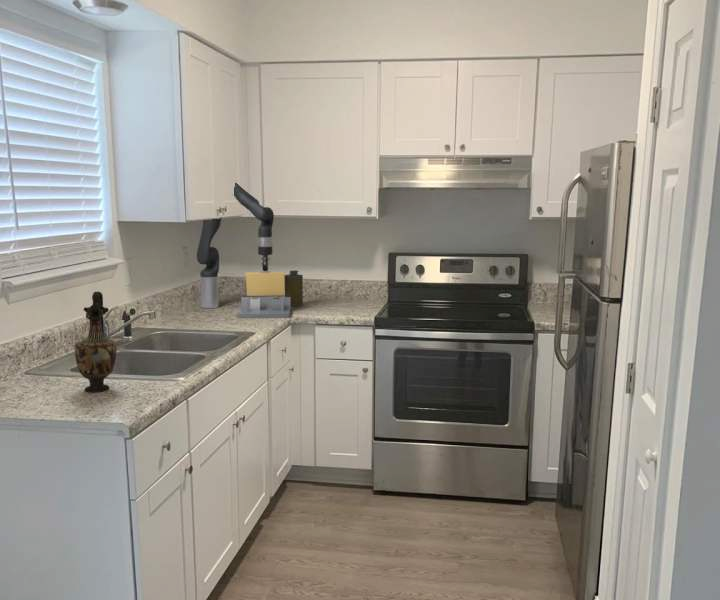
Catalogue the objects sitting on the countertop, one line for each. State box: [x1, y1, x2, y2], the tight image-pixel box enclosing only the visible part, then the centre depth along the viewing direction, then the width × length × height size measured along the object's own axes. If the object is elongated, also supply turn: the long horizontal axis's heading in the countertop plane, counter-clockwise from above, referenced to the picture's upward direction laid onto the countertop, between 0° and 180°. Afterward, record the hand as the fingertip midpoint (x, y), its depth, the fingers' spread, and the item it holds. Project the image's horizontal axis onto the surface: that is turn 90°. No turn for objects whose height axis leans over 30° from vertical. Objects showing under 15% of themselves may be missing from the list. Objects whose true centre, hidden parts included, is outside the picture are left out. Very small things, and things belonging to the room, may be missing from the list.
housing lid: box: [245, 270, 285, 297], centre depth 322 cm, size 14×20×1 cm
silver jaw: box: [250, 298, 261, 311], centre depth 318 cm, size 5×5×6 cm
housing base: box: [236, 296, 292, 319], centre depth 316 cm, size 20×26×9 cm
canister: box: [284, 270, 304, 308], centre depth 343 cm, size 11×10×20 cm
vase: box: [74, 291, 118, 393], centre depth 186 cm, size 12×12×30 cm
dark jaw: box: [271, 298, 281, 311], centre depth 319 cm, size 5×5×6 cm
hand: (265, 278), depth 322 cm, fingers closed
